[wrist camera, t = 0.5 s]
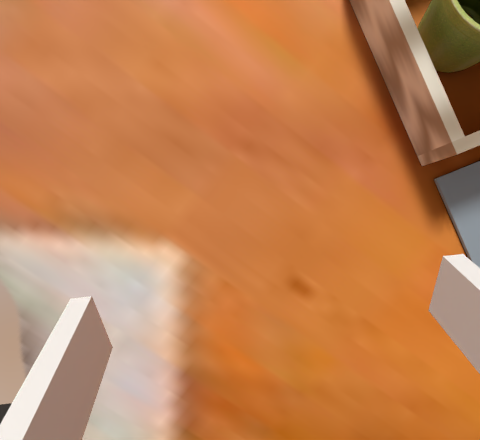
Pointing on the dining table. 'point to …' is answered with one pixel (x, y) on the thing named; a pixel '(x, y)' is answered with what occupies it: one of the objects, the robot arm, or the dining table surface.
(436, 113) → the frame
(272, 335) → the dining table surface
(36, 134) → the dining table surface
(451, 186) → the mat
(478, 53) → the plant pot
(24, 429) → the robot arm
